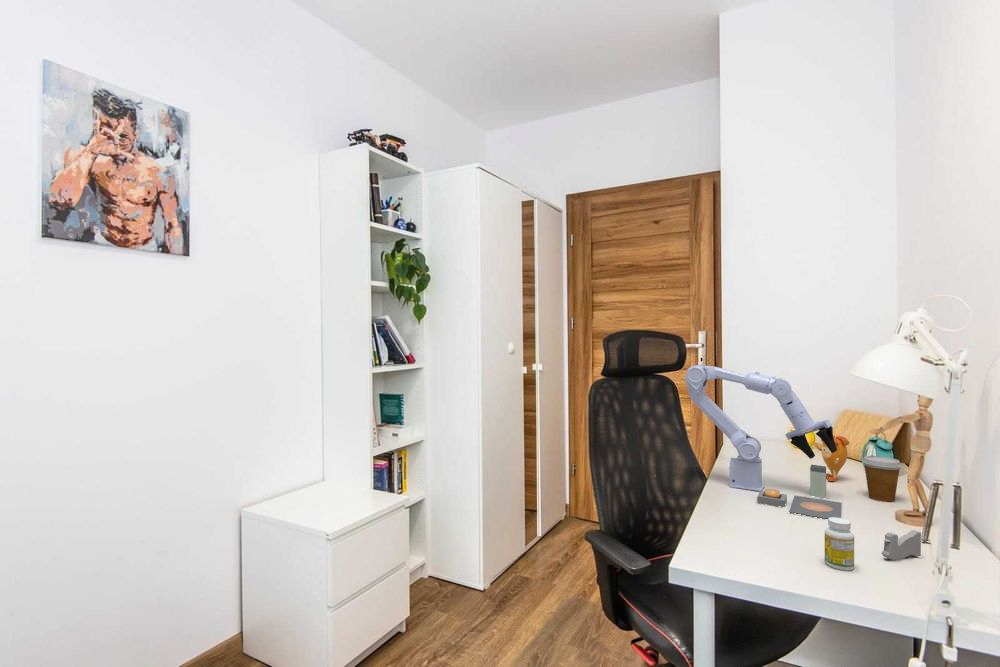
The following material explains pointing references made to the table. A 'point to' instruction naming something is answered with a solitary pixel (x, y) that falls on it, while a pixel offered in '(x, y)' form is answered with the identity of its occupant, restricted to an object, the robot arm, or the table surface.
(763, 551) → the table surface
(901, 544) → the grey tape dispenser
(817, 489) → the grey and green block
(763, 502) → the button housing
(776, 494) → the button
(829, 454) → the toy figure
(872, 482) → the disposable coffee cup
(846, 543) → the supplement bottle
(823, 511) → the drawing mat
